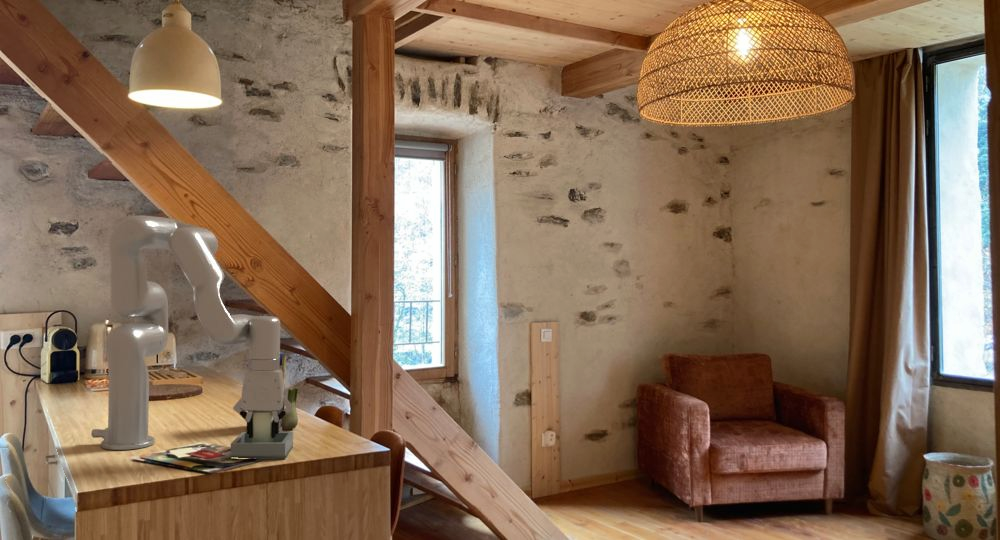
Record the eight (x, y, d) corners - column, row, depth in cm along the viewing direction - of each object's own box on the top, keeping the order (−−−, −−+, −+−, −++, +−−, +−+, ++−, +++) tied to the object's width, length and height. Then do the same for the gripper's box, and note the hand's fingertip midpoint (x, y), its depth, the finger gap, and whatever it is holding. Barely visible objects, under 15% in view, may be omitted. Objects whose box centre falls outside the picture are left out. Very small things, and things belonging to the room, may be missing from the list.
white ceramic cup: (250, 445, 195) (251, 413, 195) (254, 440, 200) (254, 409, 200) (270, 444, 196) (271, 413, 196) (274, 440, 201) (275, 409, 201)
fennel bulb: (289, 426, 230) (295, 385, 230) (301, 429, 227) (307, 388, 228) (274, 427, 225) (280, 386, 225) (286, 430, 222) (292, 388, 223)
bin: (230, 460, 191) (230, 443, 191) (241, 447, 204) (242, 432, 204) (285, 459, 192) (285, 443, 192) (292, 447, 205) (293, 431, 205)
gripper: (225, 367, 193) (224, 440, 193) (296, 367, 195) (295, 440, 195) (232, 363, 200) (231, 433, 201) (300, 363, 202) (299, 433, 203)
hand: (262, 436), depth 198 cm, fingers closed on white ceramic cup, 5 cm apart
